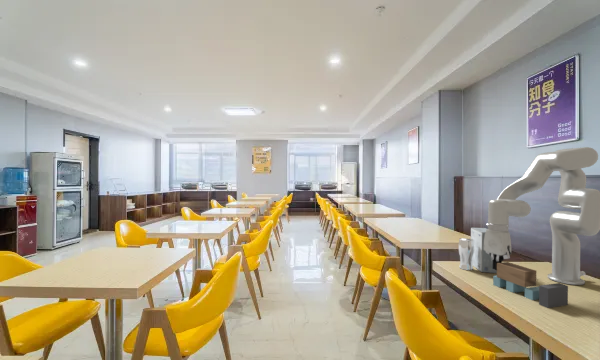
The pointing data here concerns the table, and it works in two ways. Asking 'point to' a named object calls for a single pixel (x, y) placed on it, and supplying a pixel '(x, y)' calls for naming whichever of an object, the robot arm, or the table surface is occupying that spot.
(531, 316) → the table surface
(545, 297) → the block
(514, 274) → the slab
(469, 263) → the beer glass
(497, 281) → the block
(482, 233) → the hard drive box
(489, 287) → the table surface
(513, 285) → the block
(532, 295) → the batten
